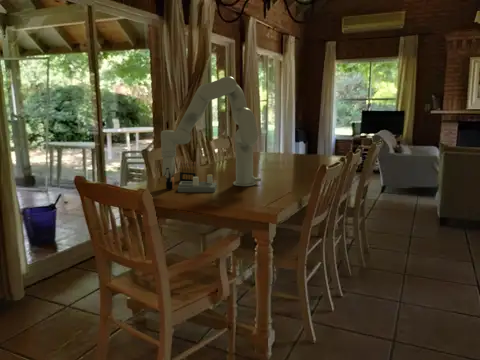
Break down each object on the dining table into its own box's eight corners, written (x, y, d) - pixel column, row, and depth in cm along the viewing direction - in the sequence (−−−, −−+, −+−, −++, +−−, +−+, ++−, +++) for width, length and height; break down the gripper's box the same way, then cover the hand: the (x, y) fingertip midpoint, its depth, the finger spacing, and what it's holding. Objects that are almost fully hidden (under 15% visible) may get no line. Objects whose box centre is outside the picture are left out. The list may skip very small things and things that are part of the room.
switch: (198, 185, 210) (198, 176, 209) (197, 186, 207) (197, 177, 206) (193, 185, 210) (193, 176, 209) (193, 186, 207) (192, 177, 206)
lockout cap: (175, 187, 217) (174, 176, 216) (173, 189, 213) (173, 178, 212) (167, 187, 217) (166, 176, 216) (165, 189, 213) (164, 178, 212)
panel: (216, 187, 218) (216, 180, 218) (214, 192, 207) (214, 185, 206) (181, 187, 219) (181, 180, 218) (177, 192, 207) (177, 185, 206)
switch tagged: (212, 183, 216) (212, 174, 215) (212, 184, 213) (211, 175, 212) (207, 183, 216) (207, 174, 215) (207, 184, 213) (207, 175, 212)
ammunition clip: (179, 180, 237) (179, 160, 235) (181, 180, 239) (180, 160, 237) (196, 181, 234) (195, 161, 231) (197, 181, 235) (196, 160, 233)
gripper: (165, 152, 220) (166, 184, 223) (158, 156, 203) (159, 191, 207) (178, 152, 220) (180, 184, 223) (173, 156, 203) (174, 191, 207)
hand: (170, 187), depth 215 cm, fingers closed on lockout cap, 4 cm apart
